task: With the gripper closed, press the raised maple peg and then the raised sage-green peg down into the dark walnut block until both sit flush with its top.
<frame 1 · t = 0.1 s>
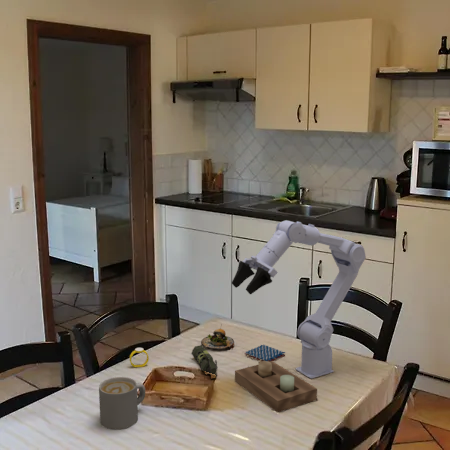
hand: (240, 288, 163), 32 cm above the table, tool tilted 50°, fingers open, 7 cm apart
dark green rolled bundle: (205, 369, 185), on the table
coffee mug: (125, 418, 155), on the table
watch: (139, 367, 186), on the table
maple peg: (264, 369, 174), point 5 cm above the table, slide at 3.0 cm
sage peg: (287, 383, 164), point 5 cm above the table, slide at 3.0 cm
walnut block: (274, 390, 170), on the table
woven mat: (264, 357, 195), on the table
burger: (217, 346, 204), on the table
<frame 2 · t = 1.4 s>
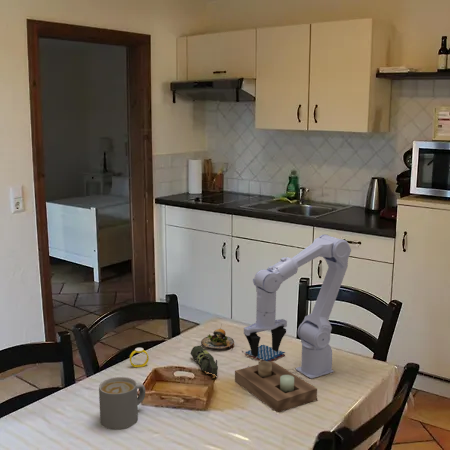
hand: (265, 353, 173), 10 cm above the table, tool pointing down, fingers open, 7 cm apart
nothing on the table moved.
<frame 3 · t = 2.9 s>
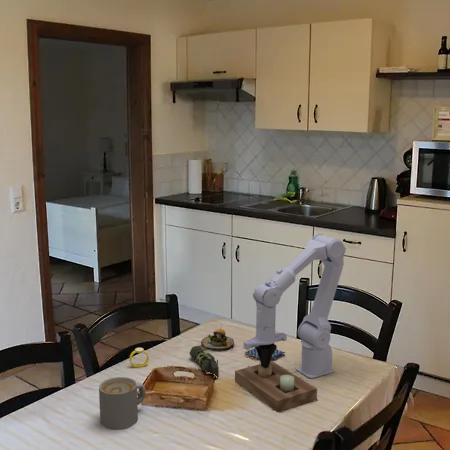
hand: (264, 366, 173), 6 cm above the table, tool pointing down, fingers closed, pressing on maple peg
maple peg: (264, 372, 174), point 4 cm above the table, slide at 2.0 cm, touching gripper
everything else where it was.
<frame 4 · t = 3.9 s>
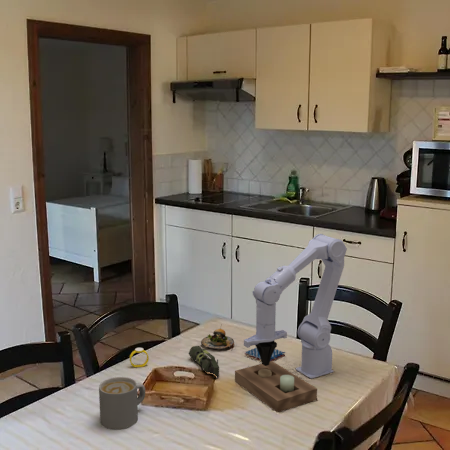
hand: (265, 364, 173), 6 cm above the table, tool pointing down, fingers closed
maple peg: (264, 377, 174), point 2 cm above the table, slide at 0.4 cm
everything else where it was.
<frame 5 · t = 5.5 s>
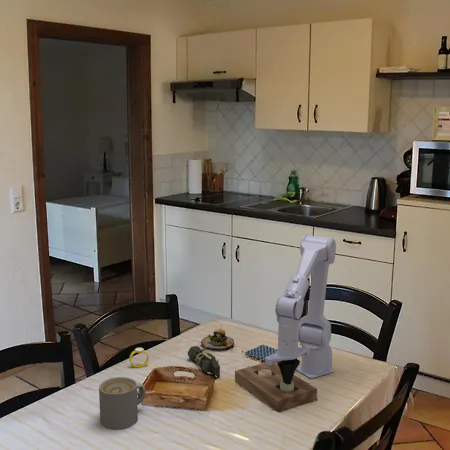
hand: (287, 382, 164), 5 cm above the table, tool pointing down, fingers closed, pressing on sage peg
sage peg: (286, 388, 165), point 3 cm above the table, slide at 1.5 cm, touching gripper
everything else where it was.
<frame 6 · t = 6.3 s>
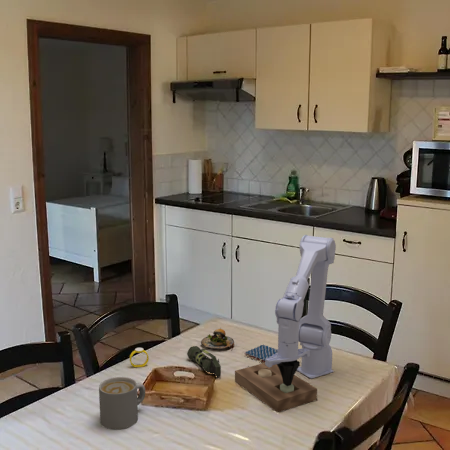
hand: (287, 384, 165), 4 cm above the table, tool pointing down, fingers closed
sage peg: (286, 391, 165), point 2 cm above the table, slide at 0.4 cm
everything else where it was.
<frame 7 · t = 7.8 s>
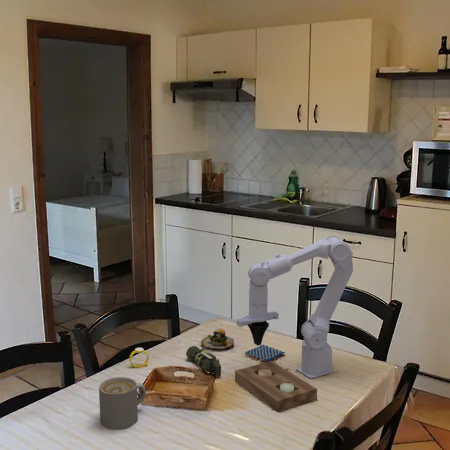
hand: (257, 344, 180), 10 cm above the table, tool pointing down, fingers closed
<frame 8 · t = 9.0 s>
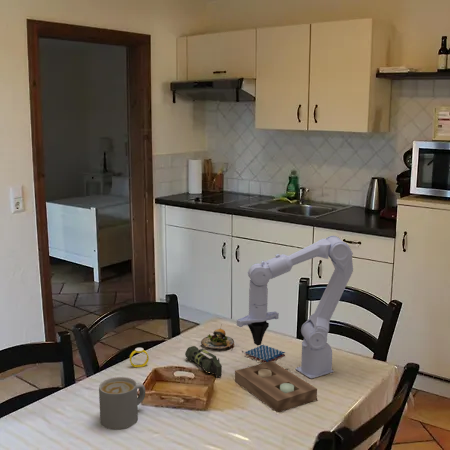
hand: (257, 344, 180), 10 cm above the table, tool pointing down, fingers closed
at the end: maple peg slide at 0.4 cm; sage peg slide at 0.4 cm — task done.
